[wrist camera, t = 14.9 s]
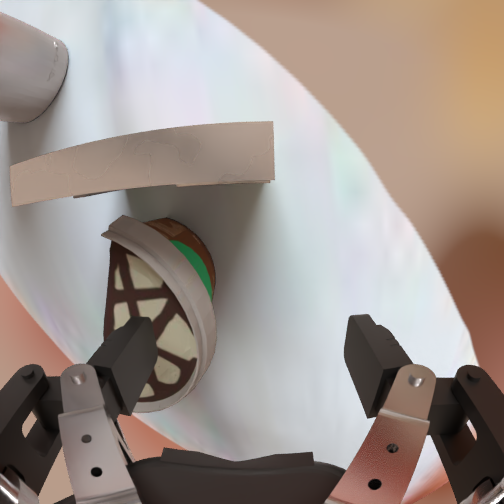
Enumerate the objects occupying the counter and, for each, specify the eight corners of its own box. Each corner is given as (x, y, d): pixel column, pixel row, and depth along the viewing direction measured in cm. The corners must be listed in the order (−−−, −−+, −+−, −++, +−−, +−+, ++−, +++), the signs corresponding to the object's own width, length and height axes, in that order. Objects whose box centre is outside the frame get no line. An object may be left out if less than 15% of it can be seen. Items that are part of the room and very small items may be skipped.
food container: (212, 352, 24) (191, 439, 14) (148, 333, 24) (102, 408, 14) (249, 219, 21) (240, 261, 11) (170, 198, 20) (102, 222, 11)
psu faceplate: (124, 188, 20) (12, 213, 9) (123, 163, 20) (9, 166, 8) (265, 179, 20) (274, 188, 8) (264, 151, 19) (273, 121, 8)
